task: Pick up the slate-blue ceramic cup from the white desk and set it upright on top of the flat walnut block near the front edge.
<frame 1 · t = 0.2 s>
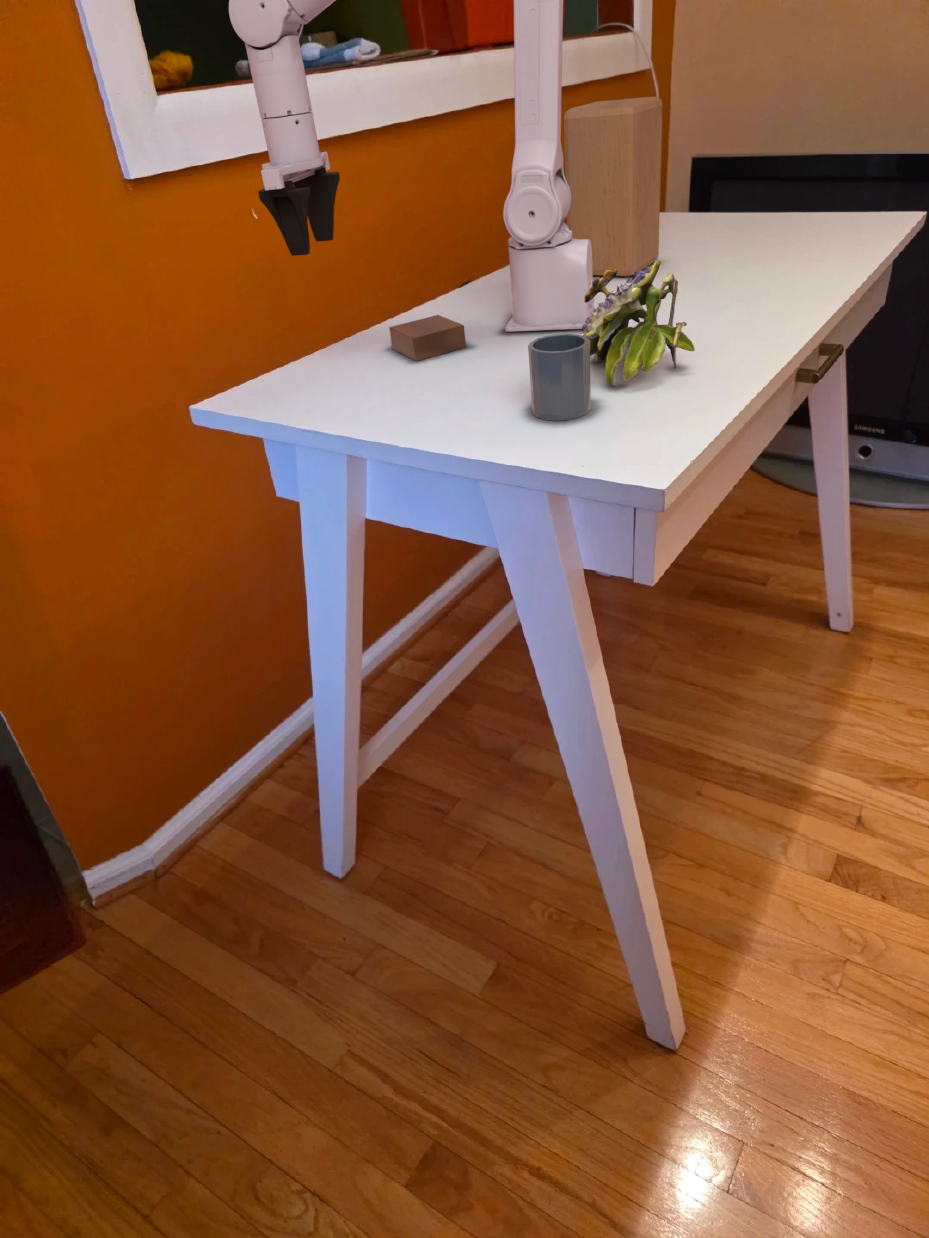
hand: (313, 247, 98), 10 cm above the table, tool pointing down, fingers open, 7 cm apart
cup: (561, 409, 74), on the table
block: (428, 348, 93), on the table
passion flower: (637, 369, 81), on the table
wooden block: (613, 270, 115), on the table
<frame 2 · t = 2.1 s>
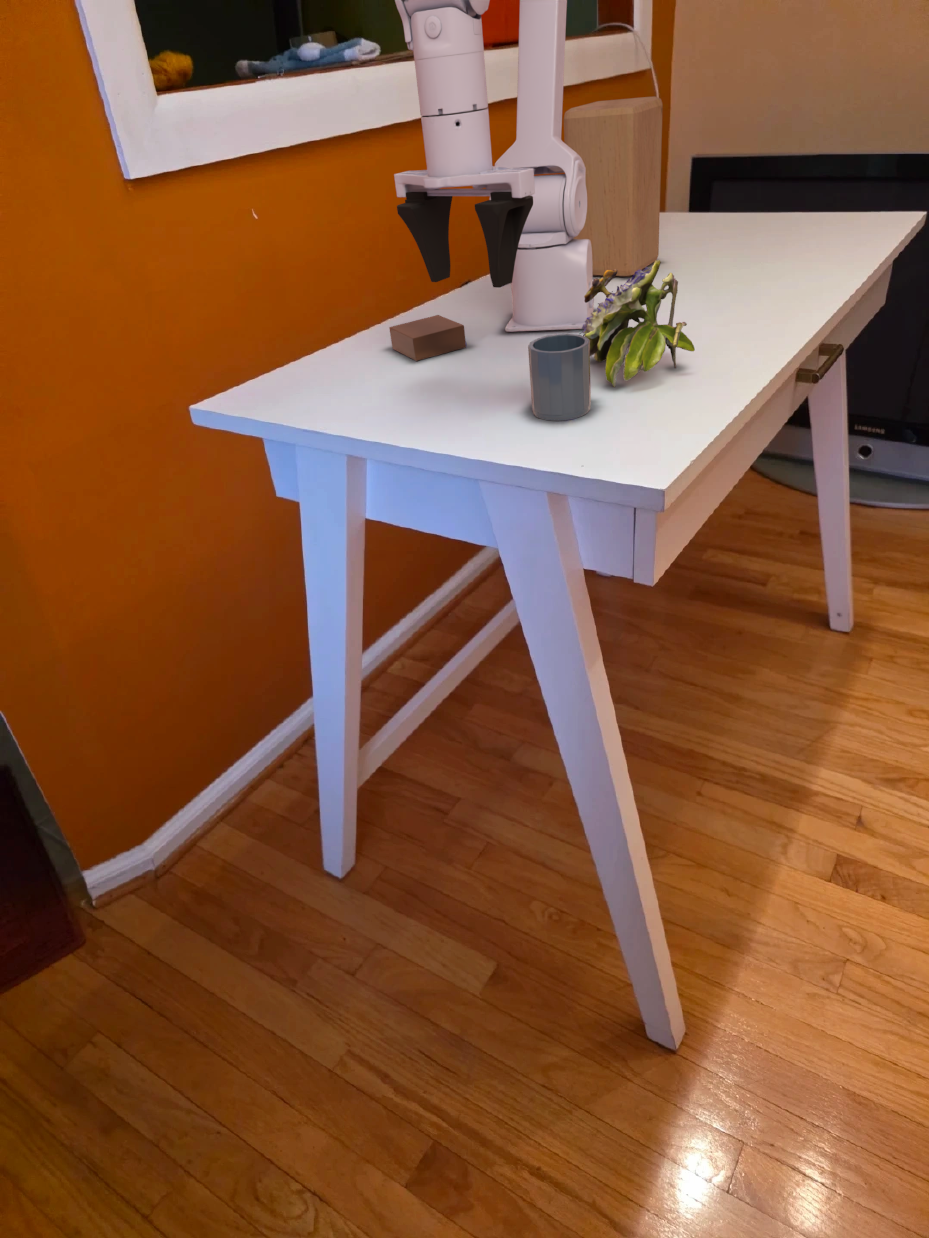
hand: (470, 282, 76), 10 cm above the table, tool pointing down, fingers open, 7 cm apart
nothing on the table moved.
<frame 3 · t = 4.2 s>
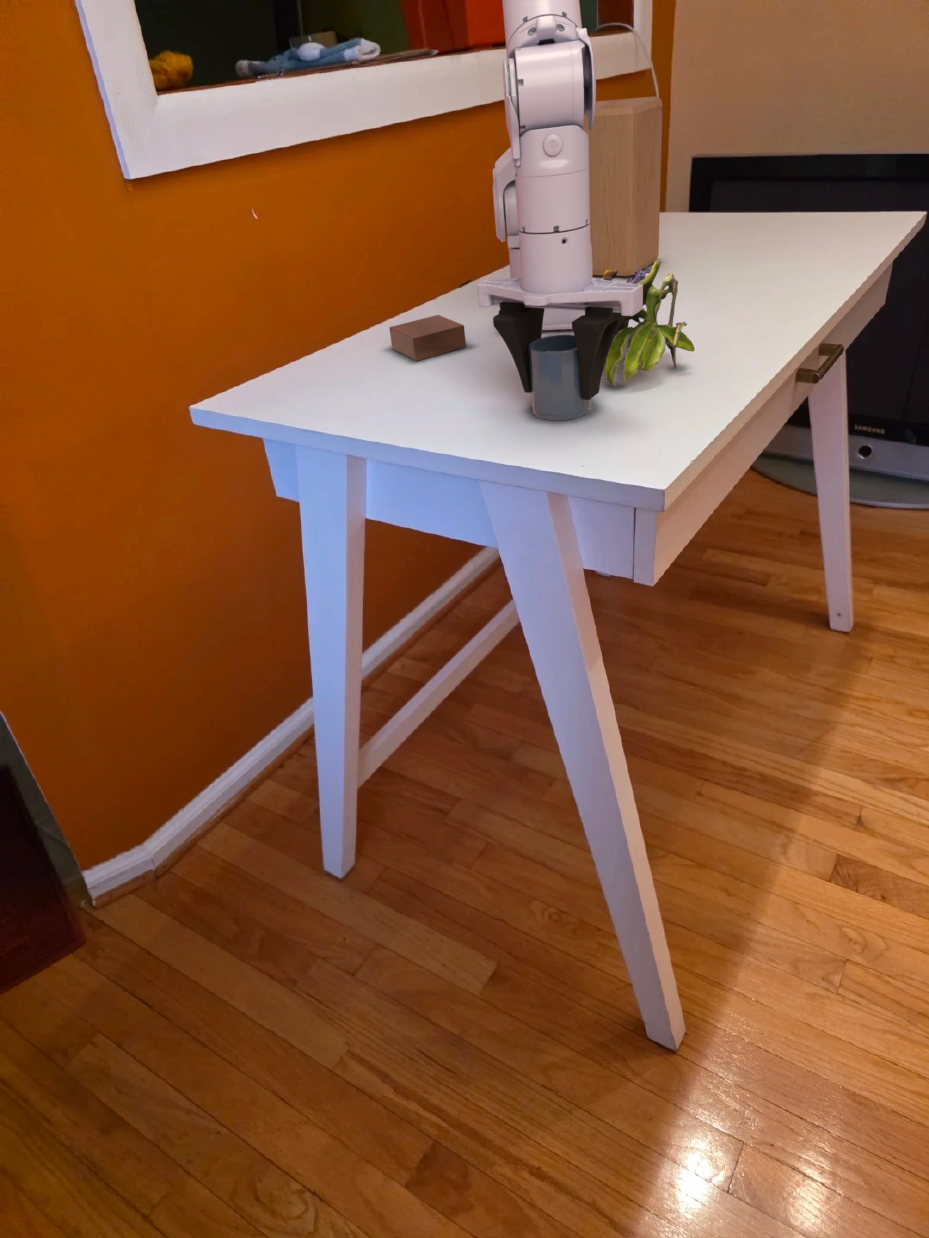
hand: (560, 392, 73), 2 cm above the table, tool pointing down, fingers closed on cup, 5 cm apart
cup: (561, 409, 74), on the table, touching gripper
everything else where it was.
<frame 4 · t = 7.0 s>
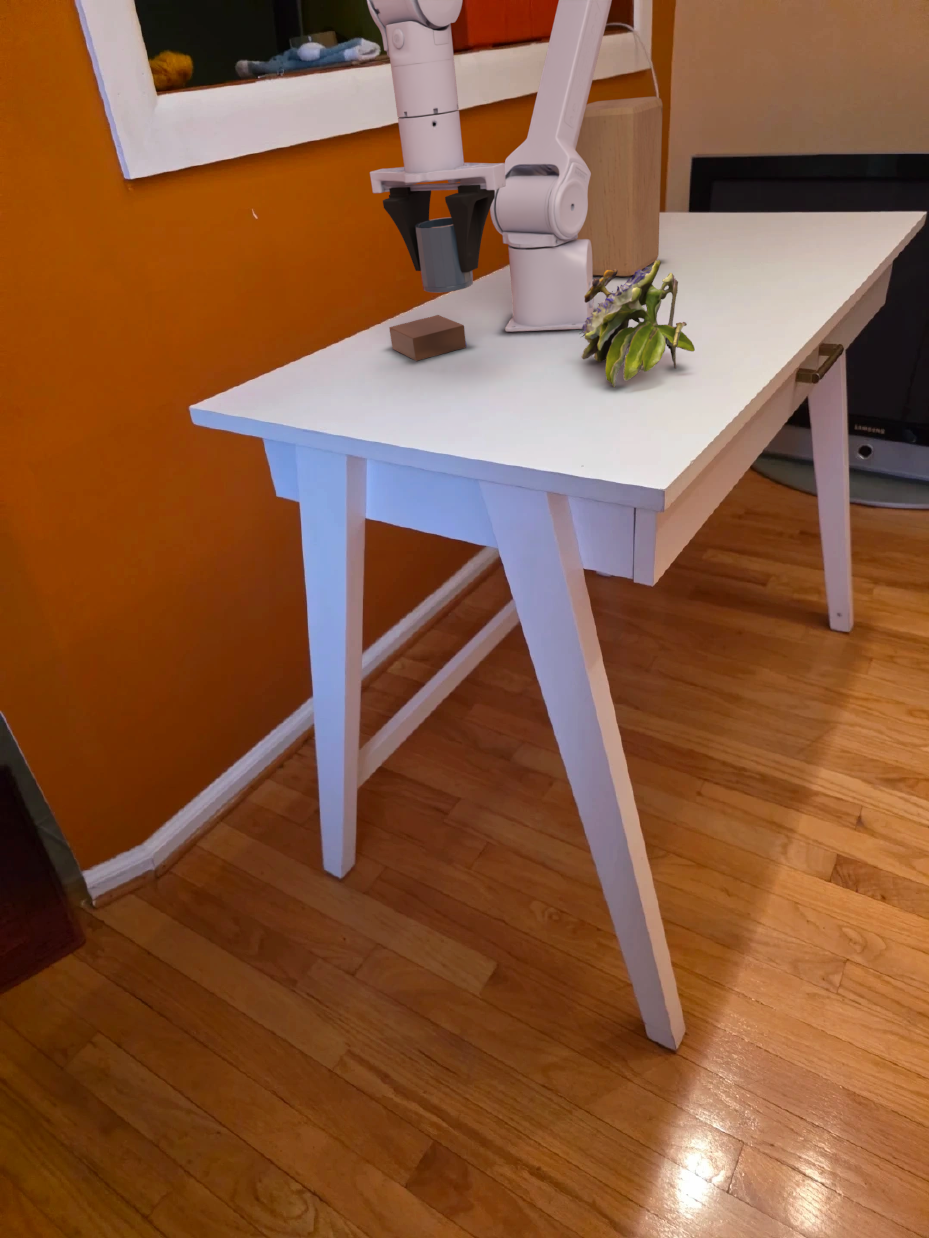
hand: (446, 269, 83), 9 cm above the table, tool pointing down, fingers closed on cup, 5 cm apart
cup: (448, 286, 84), point 8 cm above the table, touching gripper
everything else where it was.
when the fingers open (4 cm above the table, at t = 9.7 s): cup stays where it is, resting on block.
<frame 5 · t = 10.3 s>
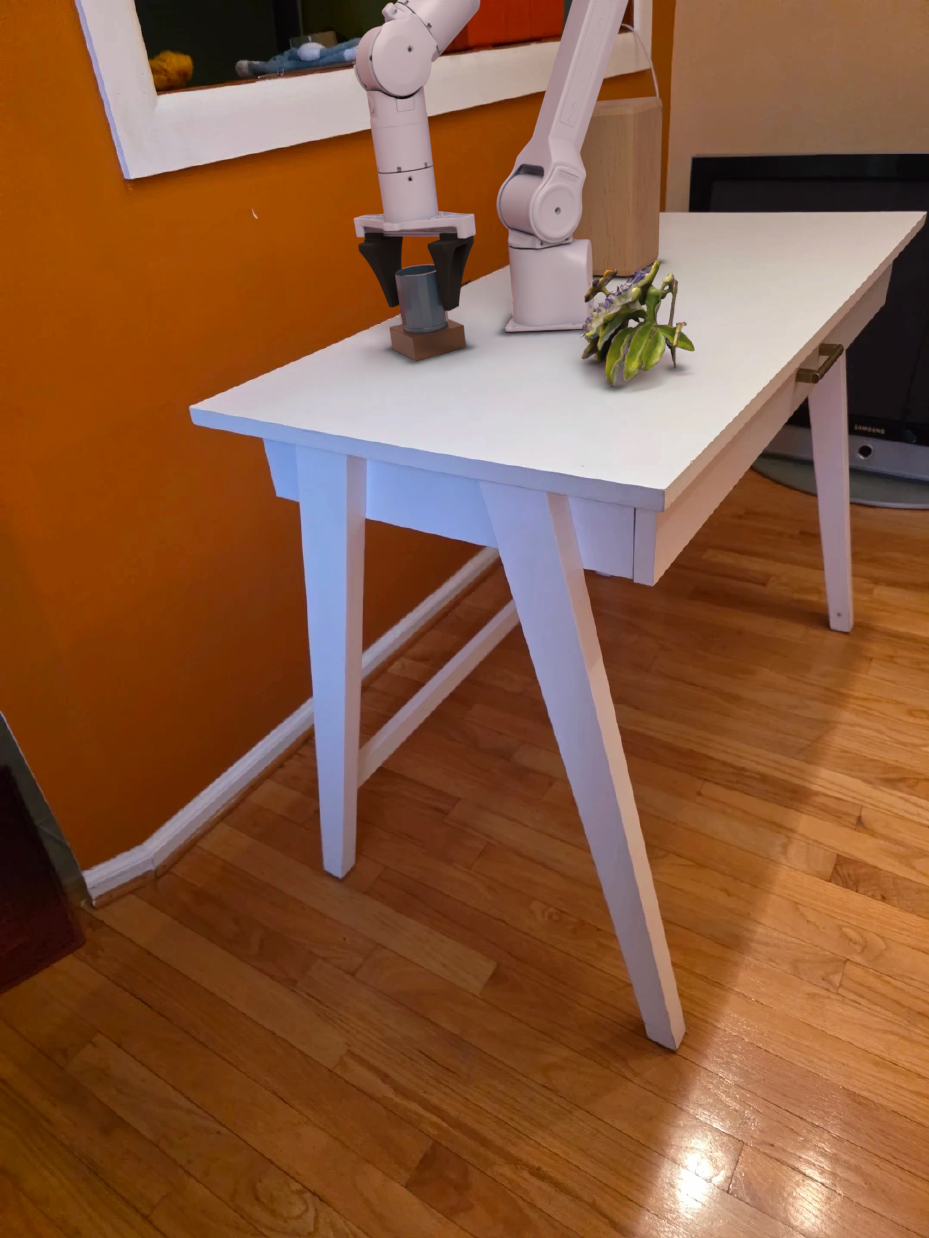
hand: (423, 306, 91), 5 cm above the table, tool pointing down, fingers open, 7 cm apart
cup: (425, 326, 92), point 2 cm above the table, touching block
block: (428, 348, 93), on the table, touching cup
everything else where it was.
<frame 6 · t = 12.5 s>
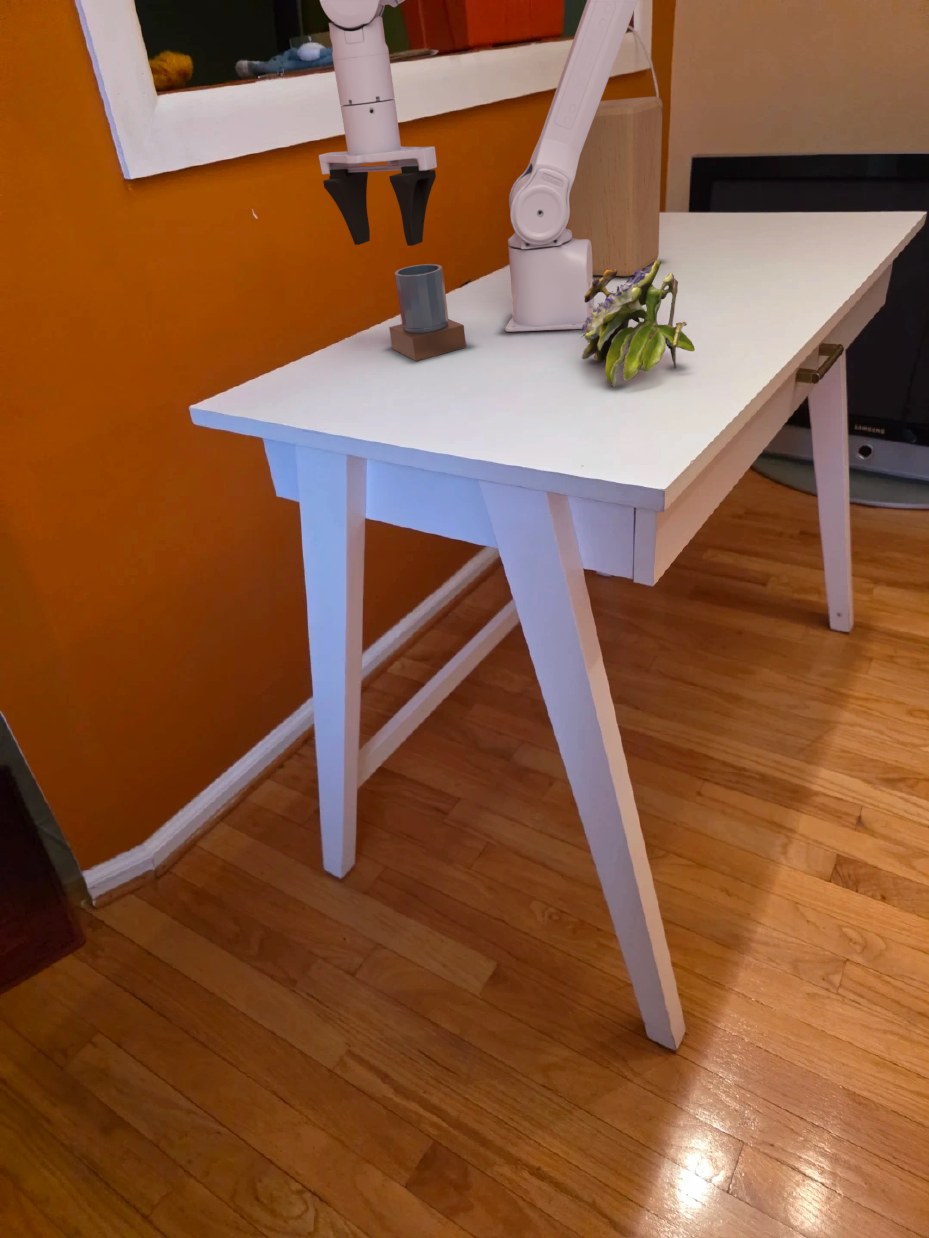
hand: (388, 243, 93), 10 cm above the table, tool pointing down, fingers open, 7 cm apart
nothing on the table moved.
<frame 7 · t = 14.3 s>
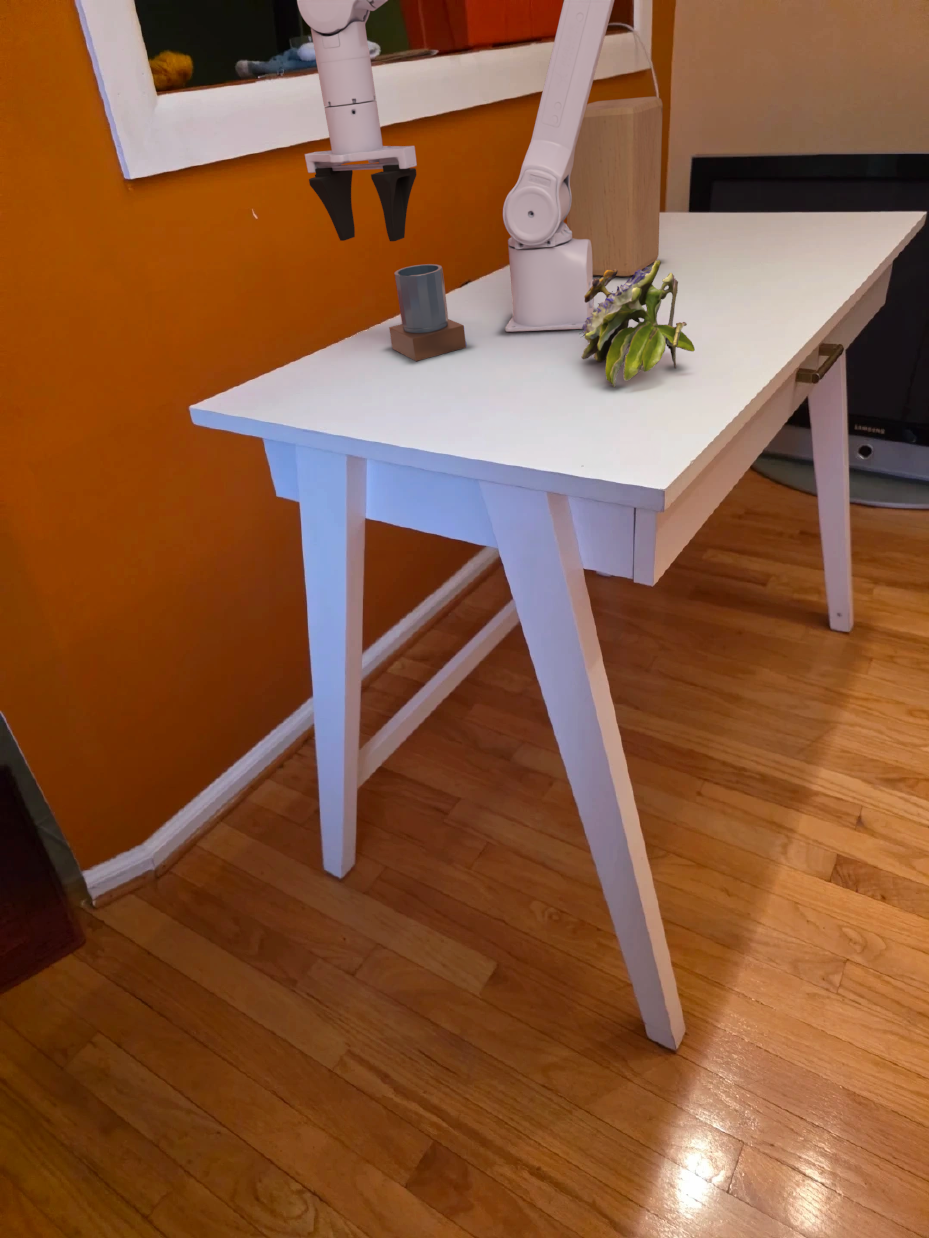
hand: (371, 239, 96), 10 cm above the table, tool pointing down, fingers open, 7 cm apart
nothing on the table moved.
at the end: cup 0.1 cm off-centre on the block, point 2.5 cm above the block's base; cup tilted 0° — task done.
